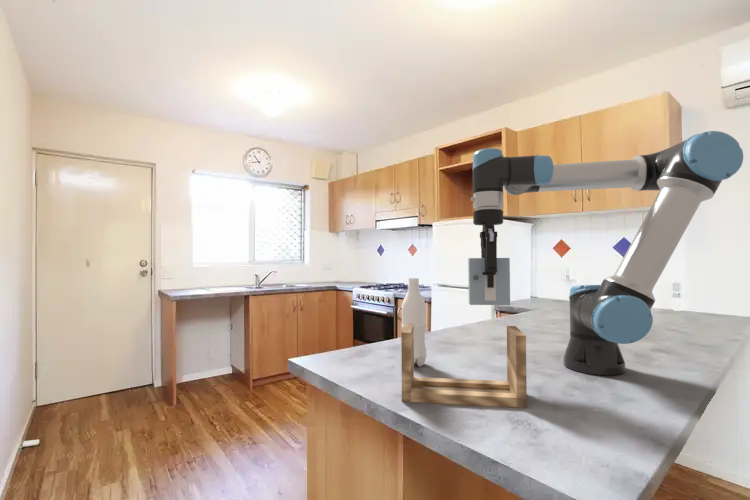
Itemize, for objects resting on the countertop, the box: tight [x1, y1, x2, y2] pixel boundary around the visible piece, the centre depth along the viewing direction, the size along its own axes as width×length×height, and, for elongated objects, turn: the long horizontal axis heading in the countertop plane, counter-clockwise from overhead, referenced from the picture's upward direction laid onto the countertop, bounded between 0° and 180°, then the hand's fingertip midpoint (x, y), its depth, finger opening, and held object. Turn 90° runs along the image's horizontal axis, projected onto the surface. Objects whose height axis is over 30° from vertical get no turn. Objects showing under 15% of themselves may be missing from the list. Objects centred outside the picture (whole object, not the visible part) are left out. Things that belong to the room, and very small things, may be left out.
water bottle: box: [400, 277, 427, 368], centre depth 114 cm, size 7×7×25 cm
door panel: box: [467, 257, 511, 306], centre depth 102 cm, size 10×4×12 cm, turn 81°
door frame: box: [400, 324, 528, 409], centre depth 89 cm, size 26×11×15 cm, turn 81°
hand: (489, 299), depth 102 cm, fingers closed on door panel, 3 cm apart
